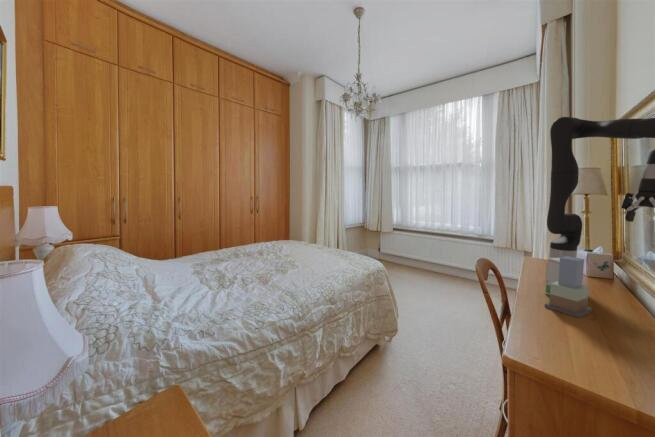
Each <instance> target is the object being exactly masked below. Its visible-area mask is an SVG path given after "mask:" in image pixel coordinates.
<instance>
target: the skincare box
mask: <svg viewBox="0 0 655 437" xmlns="http://www.w3.org/2000/svg"><path fill="white" fill-rule="evenodd" d="M547 263H548V267H547V266H546V268H547V277H546V276H545V286H544V287H545V288H544V294H545V295H548V296H550V287H551V283H554V282H557V281H558V279H559V266H560V258H549V257H548V258H547Z"/></svg>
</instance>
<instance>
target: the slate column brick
mask: <svg viewBox="0 0 655 437" xmlns="http://www.w3.org/2000/svg"><path fill="white" fill-rule="evenodd" d="M584 265H585V258H581V257H580V258H579V257H576V258H575V257H569V256H565V257H561V258H560V266H559V279H558V284H559V285H563V286H567V287H571V288H578V287H581V286H582V285H583V279H584V278H583V277H584V267H585V266H584Z"/></svg>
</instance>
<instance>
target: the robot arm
mask: <svg viewBox="0 0 655 437" xmlns="http://www.w3.org/2000/svg"><path fill="white" fill-rule="evenodd" d="M549 135H550V144H551V146H550V147H551V170H550V193H549V194H550V195H549V203H548V205H549V206H548V210H547V218H546V226H547V230H548V231H549V232H550V233H551V234H553V235H560V236H559V237H558V238H556V239H554V240H552V241H551V242H550V245H549V257H548V258H561V257H565V256H569V257H575V258H577V254H578V247H579V246H580V243H581V238H582V232H583V222H582V221H583V220H582V218H581V216H579V215H578V214H576V213H570V212H569V213H565V212H566V205H567V202H568V200H569V198H570V197H571V196H572V195H573V192H574V191H575V189H577V186H578V185H579V164H578V161H577V159H576V157H575V155H574V153H573V148H572V141H573V140H576V139H584V138H585V139H586V138H608V139H609V138H610V139H629V140H630V139H631V140H632V139H637V140H640V139H643V138H644V139H655V117H651V118H650V117H649V118H620V119H618V118H617V119H611V120H609V119H608V120H587V119H580V118H579V117H571V116H561V117H558V118H557V119H555V120H554V121H553V122H552V124H551V126H550V134H549ZM637 190H638V191H637V192H638V193H635V192H634V193H632V192H631V193H630V192H626V193H625V196H624V198H623V202H622V204H621V207H620V208H621V209H623V210H625V211H626V214H625V217H624V218H625V219H624V220H625V221H626V222H630V223H632V222H634V220H635V216H636V211H638V210H639V209H641V208H643V207H645V208H655V148H652V149H651V150H650V151H649V155H648V157H647V161H646V165H645V167H644V168H643V172H642V174H641V177H640V180H639V184H638V187H637ZM635 199H636V201H635V202H634V200H635ZM547 267H548V262H547V263H546V270H545V278H546V277H547Z"/></svg>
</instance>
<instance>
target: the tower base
mask: <svg viewBox="0 0 655 437" xmlns="http://www.w3.org/2000/svg"><path fill="white" fill-rule="evenodd" d="M588 299H589V286H588V285H584V284H582V286H581V287H578V288H571V287H567V286H563V285H559V284H558V281H557V282H554V283H551V287H550V295H549V301H548V302H545V303H544V308H547V309H550V310H553V311H556V312H559V313H563V314H565V315H569V316H571V317H572V316H573V317H574V318H579V319H580V318H582V317H583V316H586V315H587V314H589V313H591V312H592V311H593V310H592V309H593V308H592V307H589V306H588Z"/></svg>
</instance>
